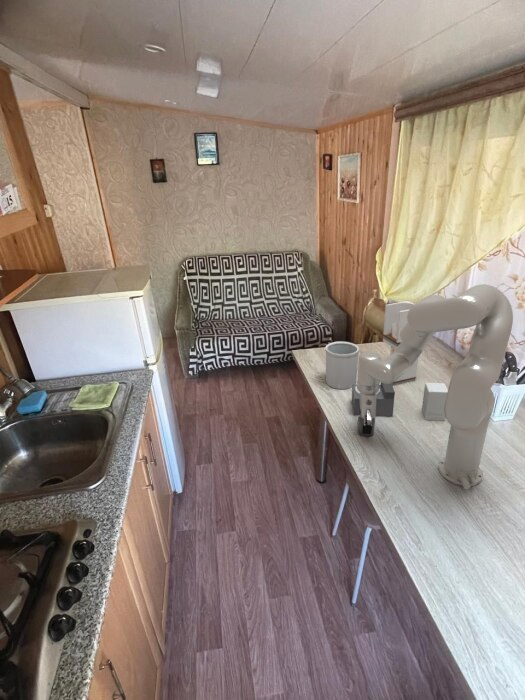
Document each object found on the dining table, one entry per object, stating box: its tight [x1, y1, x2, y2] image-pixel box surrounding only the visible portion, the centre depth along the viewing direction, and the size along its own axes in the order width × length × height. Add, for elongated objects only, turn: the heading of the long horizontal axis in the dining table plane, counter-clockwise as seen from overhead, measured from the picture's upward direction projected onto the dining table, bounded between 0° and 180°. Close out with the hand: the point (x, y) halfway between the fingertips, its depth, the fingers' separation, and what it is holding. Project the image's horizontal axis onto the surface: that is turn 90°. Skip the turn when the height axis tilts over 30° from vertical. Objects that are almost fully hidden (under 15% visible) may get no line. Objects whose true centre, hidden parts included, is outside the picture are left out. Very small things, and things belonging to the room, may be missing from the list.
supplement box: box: [421, 382, 449, 422], centre depth 149 cm, size 7×7×13 cm
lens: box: [357, 413, 376, 438], centre depth 144 cm, size 6×6×7 cm
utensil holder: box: [324, 341, 360, 390], centre depth 177 cm, size 15×15×18 cm
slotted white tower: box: [382, 300, 419, 387], centre depth 173 cm, size 11×11×35 cm
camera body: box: [351, 382, 396, 417], centre depth 157 cm, size 11×15×11 cm
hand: (365, 425), depth 144 cm, fingers open, 9 cm apart
